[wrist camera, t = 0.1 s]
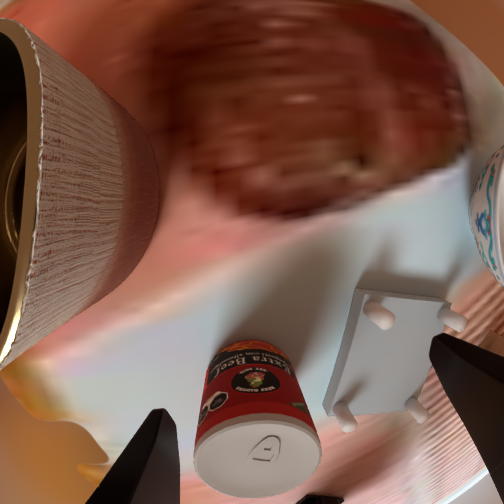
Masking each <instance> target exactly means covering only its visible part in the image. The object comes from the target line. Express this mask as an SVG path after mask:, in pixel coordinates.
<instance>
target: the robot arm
mask: <svg viewBox="0 0 504 504" xmlns="http://www.w3.org/2000/svg"><path fill="white" fill-rule="evenodd" d="M429 359H430V361H431V363H432V365H433V367H434V369H435V371H436V374H437V376H438V378H439V380H440V382H441V384H442V386H443V388H444V390H445V392H446V394H447V396H448V398H449V399H450V401H451V403H452V404H453V406H454V408H455V410H456V411H457V413H458V415H459V416H460V418H461V420H462V422H463V423H464V425H465V427H466V429H467V431H468V432H469V434H470V436H471V438H472V440H473V442H474V444H475V445H476V447H477V449H478V451H479V453H480V455H481V457H482V459H483V461H484V463H485V465H486V467H487V469H488V471H489V473H490V476H491V477H492V480H493V482H494V484H495V486H496V488H497V491H498V493H499V495H500V497H501V500H502V502H503V504H504V357H503V356H501V355H498V354H496V353H493V352H491V351H488V350H486V349H483V348H481V347H478V346H476V345H473V344H471V343H468V342H466V341H463V340H461V339H458V338H456V337H453V336H451V335H448V334H446V333H440V334H438V335H435V336H434V337H433V338H432V341H431V346H430V350H429ZM343 502H344V498H337V497H323V496H313V495H307V496H305V497H304V498H303V499H302V500H301V501H299V502H298V503H297V504H341V503H343ZM85 504H180V461H179V451H178V441H177V430H176V424H175V422H174V420H173V419H172V418H171V416H170V415H169V413H168V412H167V410H166V409H164V408H160V409H153V410H152V411H151V412H150V413H149V415H148V416H147V418H146V419H145V421H144V422H143V423H142V425H141V426H140V428H139V429H138V431H137V432H136V433H135V435H134V436H133V438H132V439H131V440H130V442H129V443H128V445H127V446H126V448H125V449H124V450H123V452H122V453H121V455H120V456H119V457H118V459H117V460H116V462H115V463H114V464H113V466H112V467H111V469H110V470H109V472H108V473H107V474H106V476H105V477H104V479H103V480H102V481H101V483H100V484H99V486H98V487H97V488H96V490H95V491H94V492H93V494H92V495H91V496H90V498H89V499H88V500H87V502H86V503H85Z"/></svg>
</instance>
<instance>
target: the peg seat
mask: <svg viewBox="0 0 504 504" xmlns="http://www.w3.org/2000/svg"><path fill="white" fill-rule="evenodd" d="M450 307H451V303H450V302H448V301H445V300H443V299H441V298H436V297H427V296H418V295H409V294H401V293H392V292H384V291H375V290H367V289H359V288H355V291H354V296H353V300H352V304H351V308H350V312H349V316H348V320H347V324H346V328H345V332H344V335H343V339H342V343H341V346H340V350H339V353H338V357H337V360H336V364H335V367H334V370H333V373H332V377H331V380H330V383H329V386H328V389H327V392H326V395H325V398H324V401H323V404H322V405H323V407H324V409H325V411H326V414H327V416H335V417H336V419H337V421H338V423H339V425H340V427H341V429H342V431H343V432H351V431H353V430H354V429H355V428H356V427H357V422H356V420H355V418H354V416H353V415H368V414H380V413H391V412H400V411H409V412H410V414H411V415H412V416H413V417H414V418H415V420H416V421H417V422H418V423H419V424H421V423H423V422H425V421H426V420H427V419H428V418H429V415H430V414H429V412H428V411H427V410H426V409H425V408H424V407H423V406H422V405H421V404H420V403H419V401H418V400H417V399H418V396H419V394H420V392H421V390H422V387H423V385H424V382H425V380H426V378H427V375H428V373H429V370H430V368H431V365H432V363H431V361H430V359H429V350H430V346H431V341H432V338H433V337H434V336H435V335H438V334H440V333H443V331H444V327H445V324H446V325H447V326H449V327H451V328H452V329H454V330H456V331H458V332H461V331H463V330H464V328H465V327H466V324H467V319H466V317H464V316H462V315H460V314H458V313H456V312H454V311H452V310H450Z"/></svg>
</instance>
